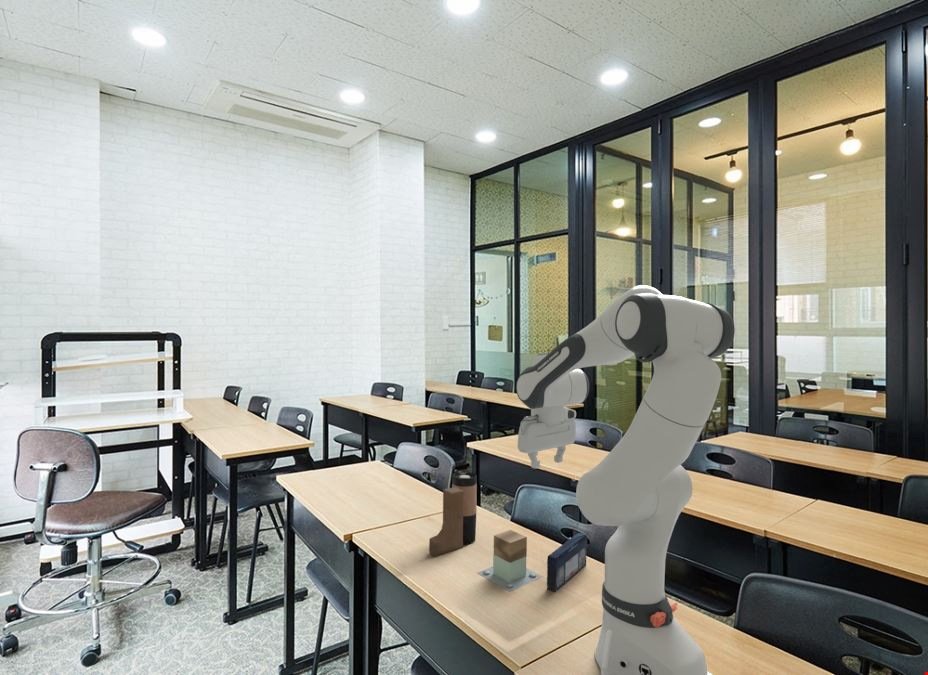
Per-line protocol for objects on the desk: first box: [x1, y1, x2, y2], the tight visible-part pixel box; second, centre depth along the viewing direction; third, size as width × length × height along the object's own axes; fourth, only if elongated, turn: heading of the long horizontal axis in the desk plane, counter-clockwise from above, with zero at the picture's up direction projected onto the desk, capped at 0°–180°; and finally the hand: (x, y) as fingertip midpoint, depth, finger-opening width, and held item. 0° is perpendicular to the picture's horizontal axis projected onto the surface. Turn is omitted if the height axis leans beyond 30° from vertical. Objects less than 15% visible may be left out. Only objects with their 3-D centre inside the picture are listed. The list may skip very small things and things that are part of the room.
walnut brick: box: [493, 529, 528, 563], centre depth 130 cm, size 6×6×5 cm
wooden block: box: [428, 487, 464, 558], centre depth 145 cm, size 9×4×18 cm, turn 124°
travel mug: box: [451, 471, 478, 545], centre depth 155 cm, size 8×8×20 cm
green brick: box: [492, 554, 527, 583], centre depth 130 cm, size 6×6×5 cm
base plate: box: [477, 566, 544, 592], centre depth 130 cm, size 12×12×2 cm
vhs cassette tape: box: [546, 532, 588, 593], centre depth 129 cm, size 18×3×10 cm, turn 141°
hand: (547, 464), depth 134 cm, fingers open, 8 cm apart
